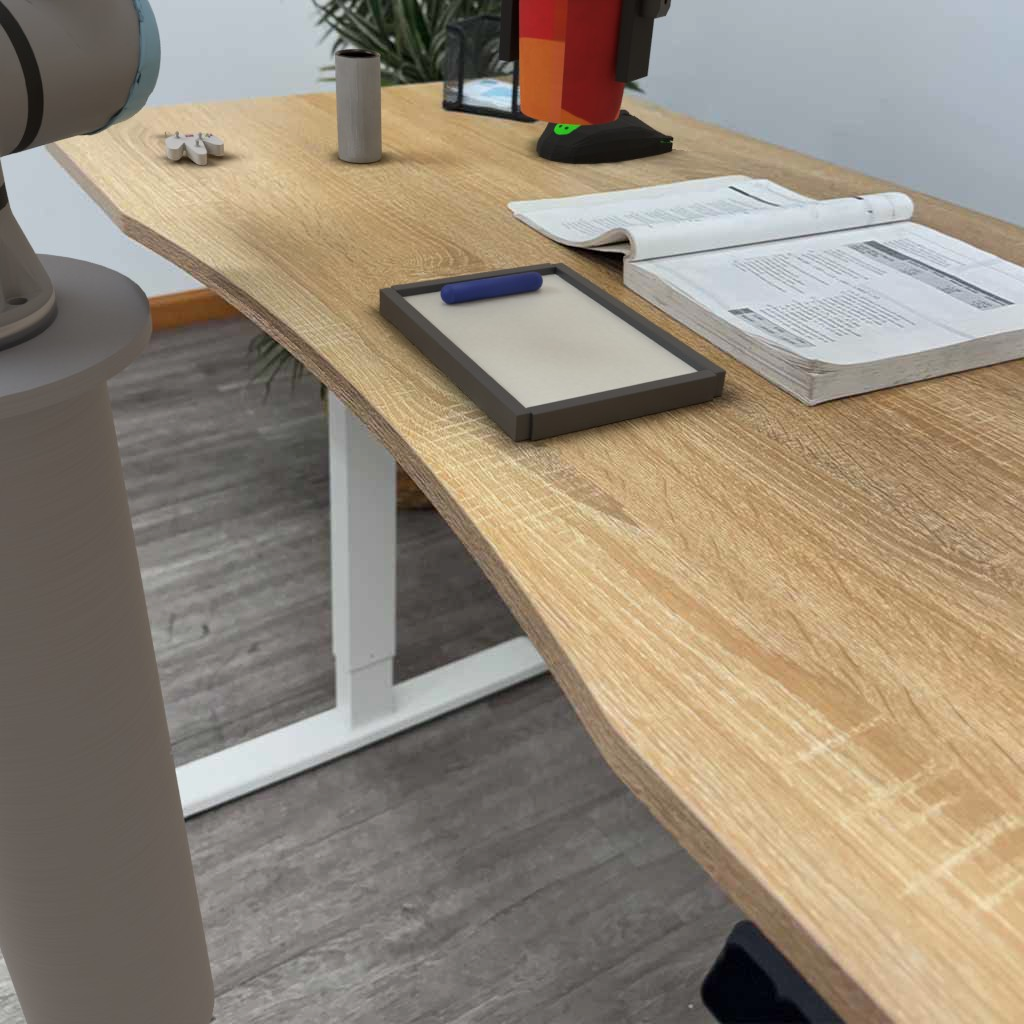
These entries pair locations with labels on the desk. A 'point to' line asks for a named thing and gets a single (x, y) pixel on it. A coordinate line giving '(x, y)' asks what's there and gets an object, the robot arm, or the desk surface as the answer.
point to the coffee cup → (570, 60)
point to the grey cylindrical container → (358, 105)
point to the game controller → (193, 146)
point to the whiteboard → (548, 349)
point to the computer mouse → (602, 141)
